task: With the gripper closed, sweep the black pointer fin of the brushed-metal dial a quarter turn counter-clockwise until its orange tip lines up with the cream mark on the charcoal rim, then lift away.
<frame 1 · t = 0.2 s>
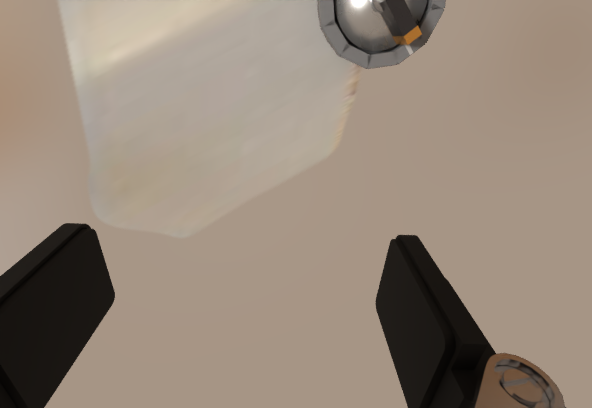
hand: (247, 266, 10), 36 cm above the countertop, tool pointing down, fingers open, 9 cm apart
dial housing: (375, 1, 37), on the countertop
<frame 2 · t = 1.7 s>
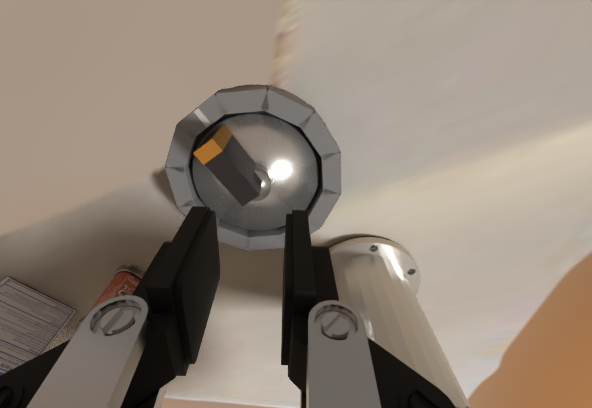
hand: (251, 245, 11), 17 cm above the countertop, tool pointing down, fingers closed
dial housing: (258, 166, 28), on the countertop
dial: (254, 185, 24), point 4 cm above the countertop, hinge at 0.0°
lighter: (149, 288, 35), on the countertop
medicine box: (37, 301, 35), on the countertop
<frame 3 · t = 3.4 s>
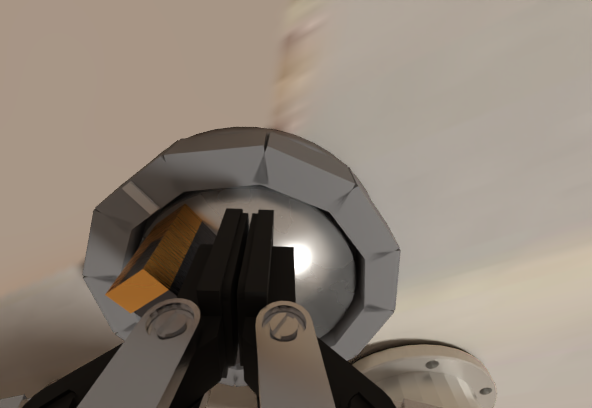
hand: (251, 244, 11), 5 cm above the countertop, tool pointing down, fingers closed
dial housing: (253, 252, 17), on the countertop
dial: (243, 310, 13), point 4 cm above the countertop, hinge at 0.0°, touching gripper
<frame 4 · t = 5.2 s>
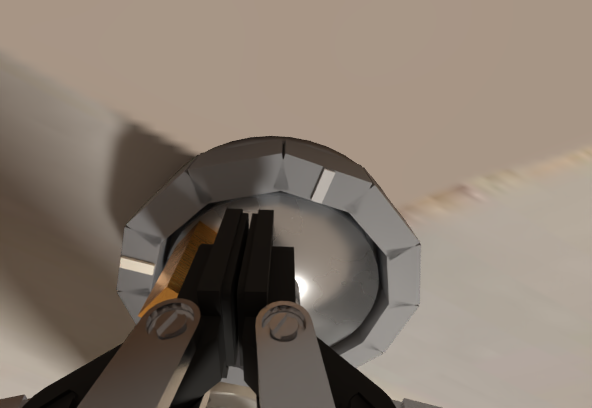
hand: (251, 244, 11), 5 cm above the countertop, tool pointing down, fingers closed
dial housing: (275, 257, 17), on the countertop
dial: (272, 313, 14), point 4 cm above the countertop, hinge at 66.3°, touching gripper
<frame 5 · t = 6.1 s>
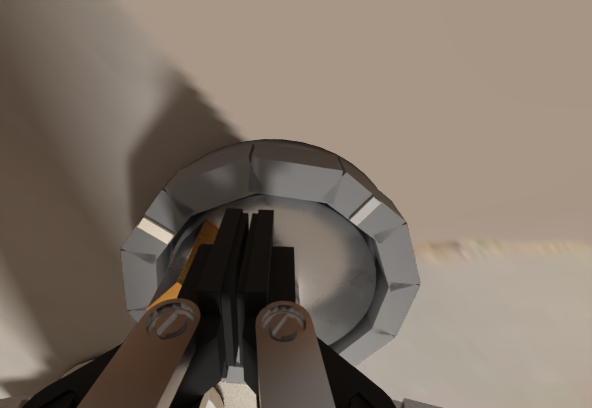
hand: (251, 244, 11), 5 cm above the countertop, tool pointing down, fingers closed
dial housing: (274, 257, 18), on the countertop
dial: (272, 312, 14), point 4 cm above the countertop, hinge at 83.1°, touching gripper
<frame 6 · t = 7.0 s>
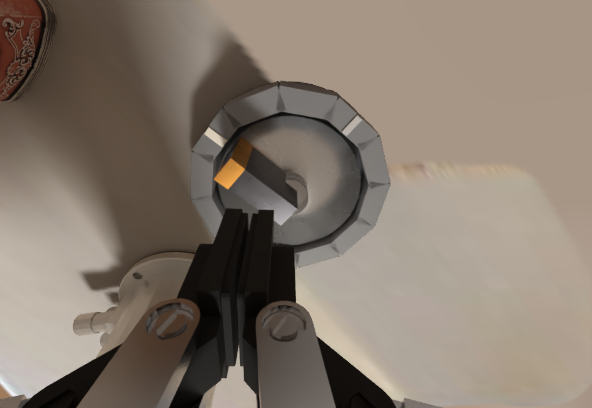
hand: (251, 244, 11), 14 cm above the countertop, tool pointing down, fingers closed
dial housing: (289, 173, 25), on the countertop
dial: (289, 197, 21), point 4 cm above the countertop, hinge at 89.1°
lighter: (20, 47, 20), on the countertop
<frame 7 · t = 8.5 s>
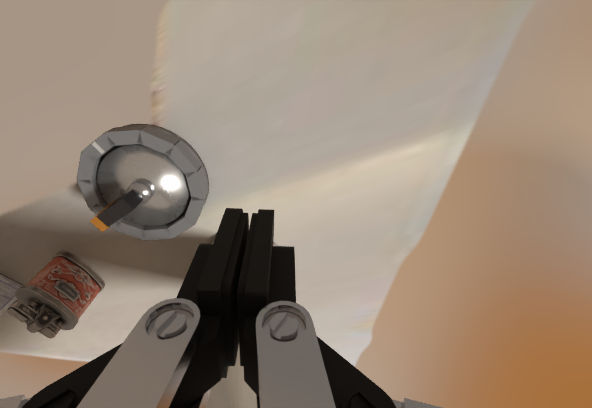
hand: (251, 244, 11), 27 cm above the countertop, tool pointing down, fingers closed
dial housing: (152, 179, 39), on the countertop
dial: (138, 193, 35), point 4 cm above the countertop, hinge at 89.1°
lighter: (82, 270, 45), on the countertop
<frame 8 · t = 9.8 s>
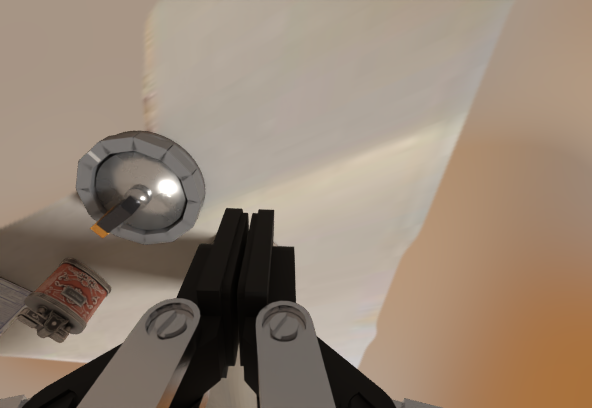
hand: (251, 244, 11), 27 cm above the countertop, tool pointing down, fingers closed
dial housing: (150, 184, 39), on the countertop
dial: (136, 199, 36), point 4 cm above the countertop, hinge at 89.1°
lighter: (88, 275, 47), on the countertop
medicine box: (7, 288, 47), on the countertop
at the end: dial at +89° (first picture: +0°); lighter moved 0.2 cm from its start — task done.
